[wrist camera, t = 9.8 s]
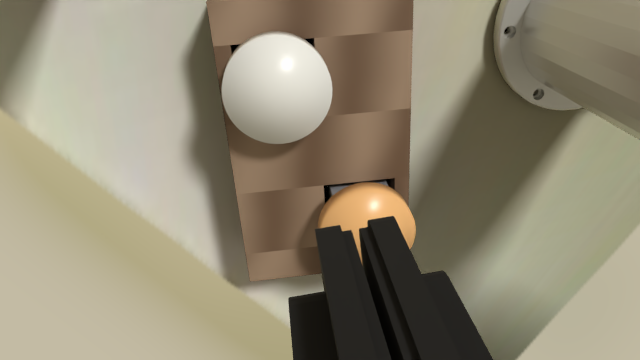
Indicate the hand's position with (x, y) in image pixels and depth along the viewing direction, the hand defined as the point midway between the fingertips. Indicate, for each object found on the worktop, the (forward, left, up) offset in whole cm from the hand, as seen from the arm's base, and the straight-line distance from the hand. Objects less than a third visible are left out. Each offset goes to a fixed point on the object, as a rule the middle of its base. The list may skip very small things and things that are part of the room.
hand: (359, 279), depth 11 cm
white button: (+1, +2, -27) cm, 27 cm away
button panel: (-1, +7, -27) cm, 28 cm away
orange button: (-4, +12, -26) cm, 29 cm away
